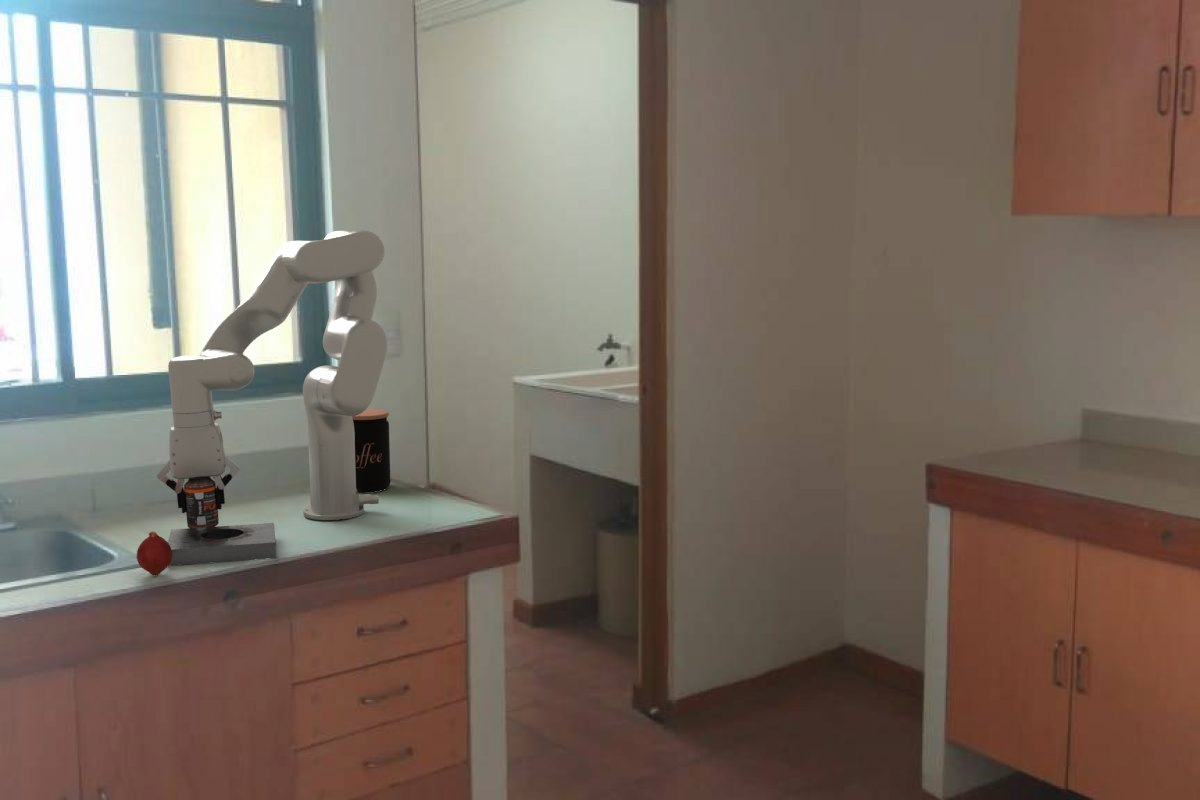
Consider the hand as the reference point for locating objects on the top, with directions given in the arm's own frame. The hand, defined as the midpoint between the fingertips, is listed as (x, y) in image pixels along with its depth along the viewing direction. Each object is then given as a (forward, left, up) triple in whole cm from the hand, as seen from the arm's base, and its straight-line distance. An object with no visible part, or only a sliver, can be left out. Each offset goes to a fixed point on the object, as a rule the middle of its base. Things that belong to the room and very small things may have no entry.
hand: (202, 508), depth 232 cm
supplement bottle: (0, 0, -4) cm, 4 cm away
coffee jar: (-35, -35, -6) cm, 50 cm away
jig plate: (-4, +12, -6) cm, 14 cm away
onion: (+7, +25, -6) cm, 27 cm away
